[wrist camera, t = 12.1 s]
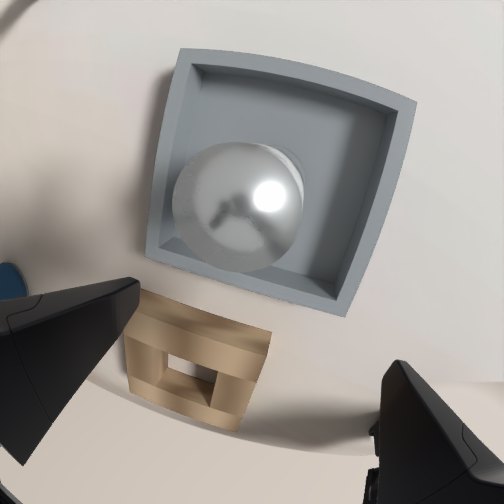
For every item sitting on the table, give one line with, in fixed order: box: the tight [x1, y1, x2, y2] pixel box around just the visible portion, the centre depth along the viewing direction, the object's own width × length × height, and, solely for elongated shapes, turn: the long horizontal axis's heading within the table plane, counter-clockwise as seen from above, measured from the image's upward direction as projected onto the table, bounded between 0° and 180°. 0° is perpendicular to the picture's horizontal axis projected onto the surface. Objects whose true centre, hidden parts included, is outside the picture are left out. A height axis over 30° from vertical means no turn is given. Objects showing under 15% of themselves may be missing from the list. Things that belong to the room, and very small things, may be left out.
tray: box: [145, 48, 417, 317], centre depth 17 cm, size 14×14×3 cm
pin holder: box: [123, 288, 272, 432], centre depth 24 cm, size 12×12×3 cm
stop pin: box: [172, 142, 305, 272], centre depth 13 cm, size 4×4×10 cm
